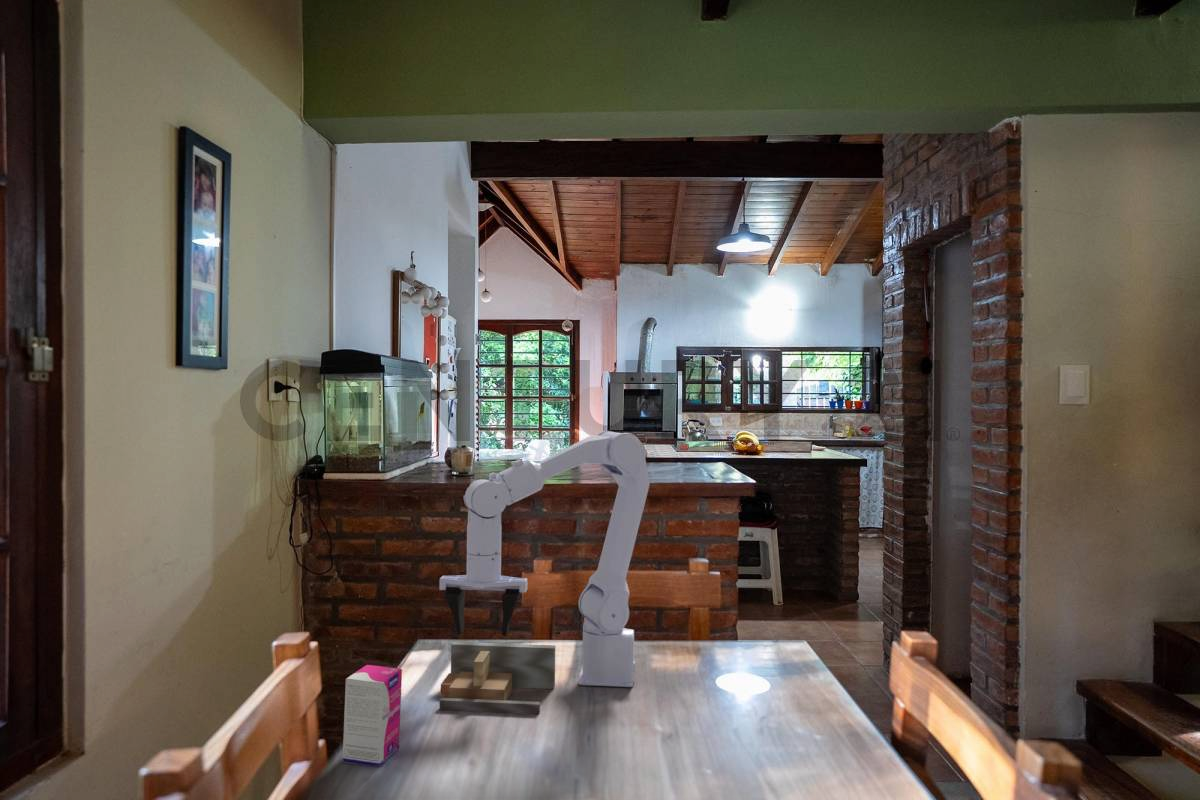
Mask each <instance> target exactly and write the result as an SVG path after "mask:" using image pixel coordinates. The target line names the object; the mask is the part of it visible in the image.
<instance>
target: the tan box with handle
mask: <svg viewBox="0 0 1200 800" xmlns="http://www.w3.org/2000/svg"><path fill="white" fill-rule="evenodd" d="M489 663H490V651H481V652H480V653H479V655H478V656H477V658H476V659H475V661H474V672H465V671H460V673H459V674H458V676H457V677H456V679H455V680H454V682H453V683H452V684H451V686H450V687H449V697H448V698H460V699H483V700H506V701H508V699H509V697H510V695H511V693H510V692H512V691H513V687H512V673H491V672H489ZM509 694H510V695H509Z"/></svg>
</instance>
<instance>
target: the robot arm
mask: <svg viewBox="0 0 1200 800" xmlns="http://www.w3.org/2000/svg"><path fill="white" fill-rule="evenodd" d="M647 452H648V450H647V448H645V446H644V445H643V443H642V442H641V440H640V439H639V438H638V436H636V435H635V434H633V433H630V432H623V433H621V432H614V431H612V430H611V431H610V430H603V431H601V432H599V433H598V434H593V435H592V434H591V435H589V436H587V437H585V438H583V439H582V440H579V441H577V442H575V443H573V444H571V445H570V446H567V447H566V448H564V449H562V450H560V451H558V452H556V453H554V454H552V455H549V456H548V457H546V458H545V459H542V460H540V461H539V462H535V461H533V460H531V459H526V460H523V459H517V460H514V461H513V466H511V467H508V468H507V469H504V470H501V471H499V472H498V473H496V472H491V473H489V474H488V478H489V479H477V480H475V481H472V482H471V483H470V484H469V486H468V487H467V488H466V491H465V493H464V494H465V495H463V502H464V505H465V507H466V508H467V509H468V510H467V525H466V574H462V575H461V574H460V575H442V576H441V577H440V578H439V591H445V593H444V594H443V597H444V600H445V603H446V604H447V606H448V608H449V610H450V612H451V615H452V618H453V620H454V621H453V622H454V625H455V630H456V635H462V634H463V633H464V631H465V601H466V600H465V599H466V593H467V592H466V591H467V590H468V591H474V590H475V591H498V592H500V591H501V592H504V593H503V594H502V595H501V602H502V604H501V605H502V627H501V636H503V637H507V636H508V635H509V631H510V626H511V621H512V618H513V614H514V611H515V608H516V606H517V603H518V601H519V598H520V597H521V594H522V593H523V594H524V593H526V592H527V590H528V578H527V577H524V578H523V577H513V576H507V575H502V527H503V526H502V512H504V510H505V509H506V507H507V506H511V505H512V504H514V503H517V502H519V501H521V500H523V499H526V498H527V497H529V496H532V495H533V494H536V493H537V492H540V491H541V490H542V489H543V487H544V486H545V482H546V480H548V479H551V478H553V477H556V476H558V475H560V474H563V473H565V472H567V471H569V470H572V469H574V468H577V467H580V466H582V465H584V464H599V465H601V466H602V467H603V468H605V469H606V470H607V471H608V472H609V474H610V475H611V476H612V478H613V479H614V481H615V483H616V484H617V486H618V488H617V492H616V496H615V500H614V503H613V506H612V507H613V508H612V512H611V516H610V519H609V522H608V526H607V531H606V535H605V538H604V543H603V547H602V550H601V553H600V558H599V562H598V566H597V569H596V571H595V572H594V573H592V574H591V576H590V577H589V580H588V583H587V585H586V587H585V588H584V590H583V591H582V592H581V593H580V596H579V599H578V602H577V603H578V609H579V612H580V613H581V615H582V616H583V617H584V620H583V624H582V667H581V669H580V674H579V678H578V681H577V683H578V685H580V686H596V687H619V688H620V687H621V688H623V687H624V688H632V687H633V684H634V673H636V661H635V660H634V659H635V630H634V629H631V628H626V627H625V626H626V625H627V623H628V621H629V618H630V609H629V598H630V590H629V589H630V588H629V586H628V582H627V576H628V571H629V567H630V563H631V560H632V556H633V551H634V548H635V544H636V540H637V535H638V531H639V527H640V523H641V521H642V516H643V512H644V507H645V505H646V500H647V496H648V492H649V489H650V484H651V483H650V482H651V481H650V476H649V471H648V466H647V460H646V456H647Z"/></svg>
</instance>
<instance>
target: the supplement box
mask: <svg viewBox="0 0 1200 800" xmlns="http://www.w3.org/2000/svg"><path fill="white" fill-rule="evenodd" d="M402 678H403V669H402V668H398V667H389V666H380V665H372V664H366V665H365V666H363V667H362V668H360V669H358V670H357V671H355V672H354V673H352V674H350V675H349V676H348V677H347V678H345V689H344V690H345V693H344V714H343V715H344V716H343V717H344V718H343V720H344V721H343V738H342V739H343V740H342V741H343V742H342V744H343V745H342V760H341V761H342V763H345V764H352V765H358V766H361V765H362V766H367V767H373V768H374V767H375V768H376V767H377V768H378V767H379V768H380V767H381V766H382V765H383V763H385V762H386V760H388V758H390V756H392V755H393V754H394V752H396V751H397V750H399V748H400V734H401V730H400V729H401V707H402V706H401V705H402V704H401V703H402Z"/></svg>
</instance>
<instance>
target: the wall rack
mask: <svg viewBox="0 0 1200 800" xmlns="http://www.w3.org/2000/svg"><path fill="white" fill-rule="evenodd" d="M450 647H451V648H450V673H448V674H447V675H446V677H445V678H444V679H443V680H442V682H441V683H440V699H439V710H440V711H441V710H442V711H458V710H459V711H460V712H465V711H467V712H481V713H482V712H483V713H484V712H485V713H506V714H507V713H508V714H525V715H526V714H528V715H539V714H540V712H541V702H540V701H527V700H526V701H522V700H507V701H506V700H483V699H460V698H449V687H450V686H451V684H452V683H453V682H454V680H455V679H456V677H457V676H458V674H459V673H460V671H465V672H474V661H475V659H476V658H477V656H478V655H479V653H480V652H481V651H490V663H489V672H491V673H512V688H515V687H516V689H519V688H521V689H540V690H541V689H545V690H555V685H556V645H553V644H552V645H551V644H550V645H549V644H530V643H529V644H526V643H525V644H524V643H502V642H501V643H500V642H475V641H473V642H471V641H452V643H451V644H450ZM459 711H458V712H459Z"/></svg>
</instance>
